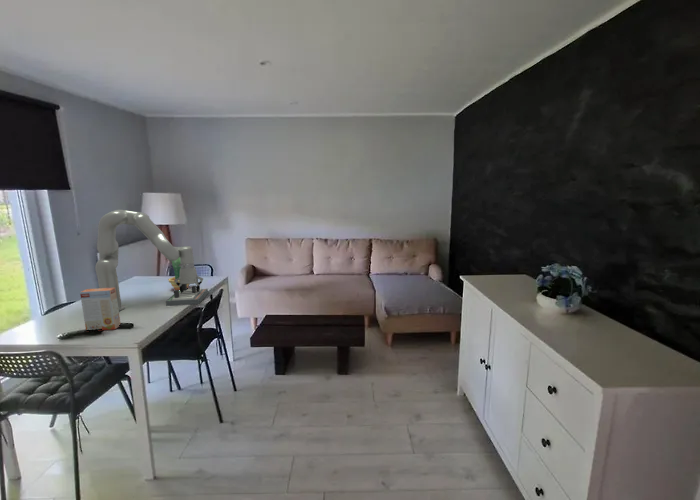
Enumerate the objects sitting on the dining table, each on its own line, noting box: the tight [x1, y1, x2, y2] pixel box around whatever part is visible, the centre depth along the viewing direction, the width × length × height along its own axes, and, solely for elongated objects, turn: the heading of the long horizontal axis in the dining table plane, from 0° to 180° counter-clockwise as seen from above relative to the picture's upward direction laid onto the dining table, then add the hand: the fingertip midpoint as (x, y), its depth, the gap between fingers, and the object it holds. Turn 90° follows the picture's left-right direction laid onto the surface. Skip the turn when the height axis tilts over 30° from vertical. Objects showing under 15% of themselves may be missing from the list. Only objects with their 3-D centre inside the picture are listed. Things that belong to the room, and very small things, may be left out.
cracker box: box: [79, 287, 121, 331], centre depth 179 cm, size 14×6×21 cm, turn 96°
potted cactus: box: [168, 257, 190, 291], centre depth 249 cm, size 15×15×25 cm
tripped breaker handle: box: [191, 285, 197, 293], centre depth 227 cm, size 2×2×4 cm
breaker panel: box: [165, 284, 209, 307], centre depth 227 cm, size 23×19×8 cm
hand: (190, 291), depth 227 cm, fingers open, 9 cm apart
